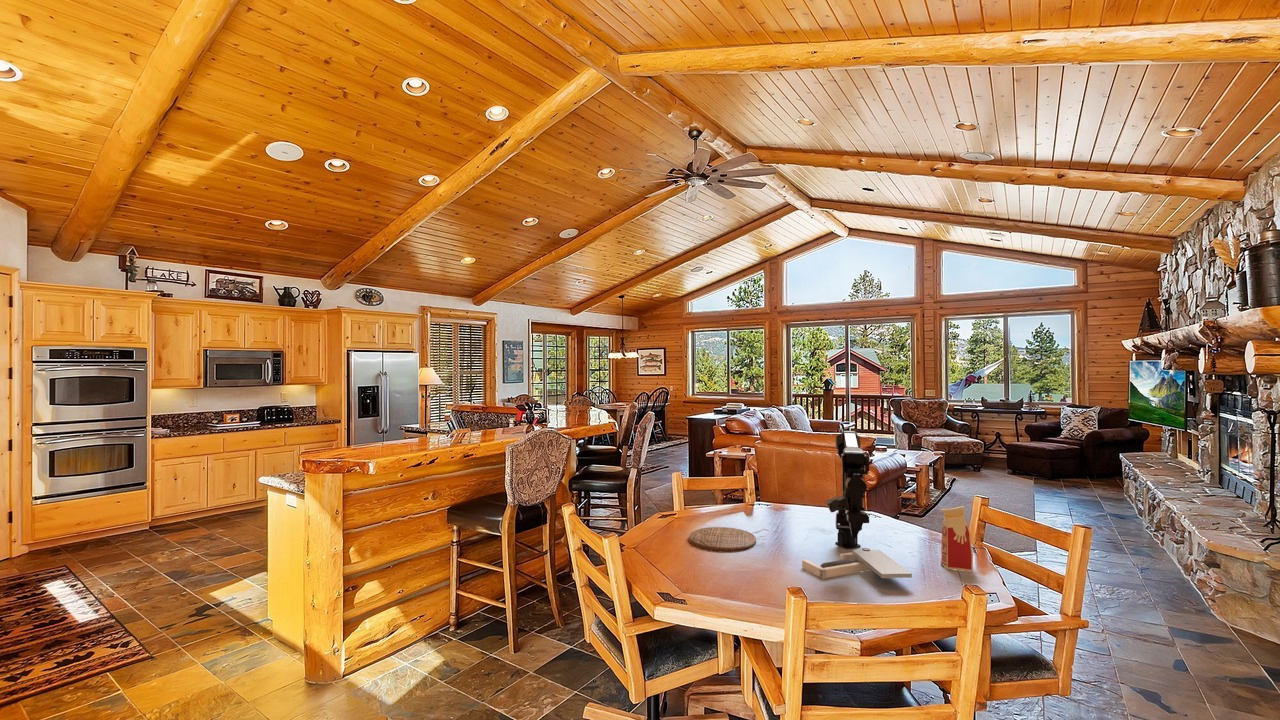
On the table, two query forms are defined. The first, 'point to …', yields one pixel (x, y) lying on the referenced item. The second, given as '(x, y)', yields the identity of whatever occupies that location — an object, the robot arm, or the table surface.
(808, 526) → the table surface
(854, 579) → the table surface
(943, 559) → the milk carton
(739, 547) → the trivet
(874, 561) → the cover
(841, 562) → the grey capsule bar
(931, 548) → the table surface
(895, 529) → the table surface
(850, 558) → the long open tray
